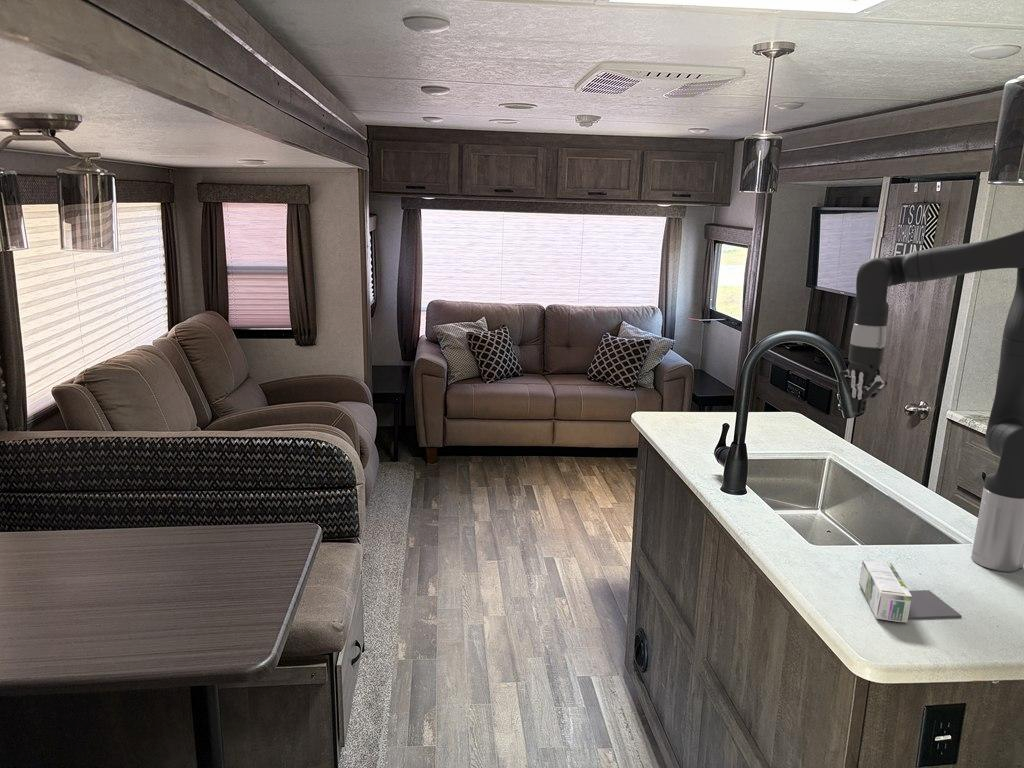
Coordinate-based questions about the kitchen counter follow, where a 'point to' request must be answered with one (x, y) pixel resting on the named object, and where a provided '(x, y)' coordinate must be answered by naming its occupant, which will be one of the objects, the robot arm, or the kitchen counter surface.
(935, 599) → the mat
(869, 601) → the syrup box
